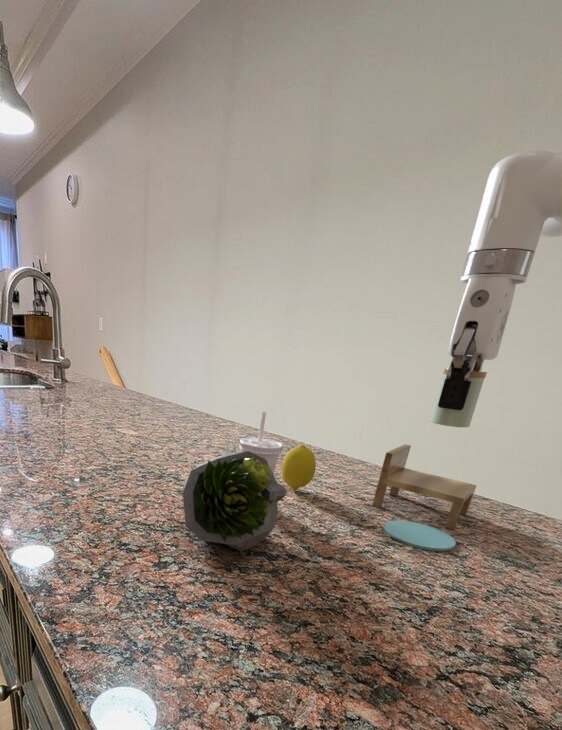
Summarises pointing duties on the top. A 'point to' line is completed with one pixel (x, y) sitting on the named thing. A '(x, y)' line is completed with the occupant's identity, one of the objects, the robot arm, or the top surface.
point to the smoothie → (263, 446)
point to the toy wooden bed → (422, 485)
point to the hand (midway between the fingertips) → (454, 405)
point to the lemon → (298, 467)
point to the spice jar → (465, 415)
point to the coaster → (420, 535)
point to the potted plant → (232, 500)
